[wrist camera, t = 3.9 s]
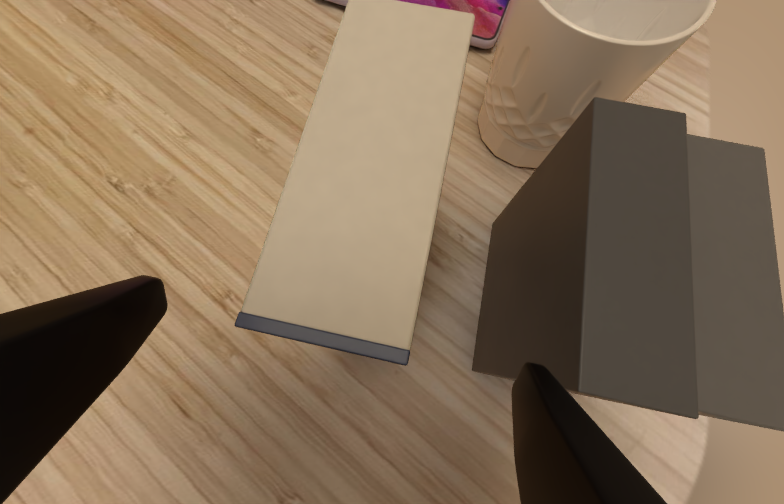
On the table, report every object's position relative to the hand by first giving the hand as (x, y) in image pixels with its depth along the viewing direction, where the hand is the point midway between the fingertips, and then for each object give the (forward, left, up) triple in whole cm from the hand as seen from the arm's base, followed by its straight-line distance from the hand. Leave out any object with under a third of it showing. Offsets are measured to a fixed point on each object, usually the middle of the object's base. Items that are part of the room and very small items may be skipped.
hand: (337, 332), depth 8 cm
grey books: (+1, -10, -11) cm, 15 cm away
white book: (+4, -1, -11) cm, 12 cm away
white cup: (+13, -12, -12) cm, 21 cm away
